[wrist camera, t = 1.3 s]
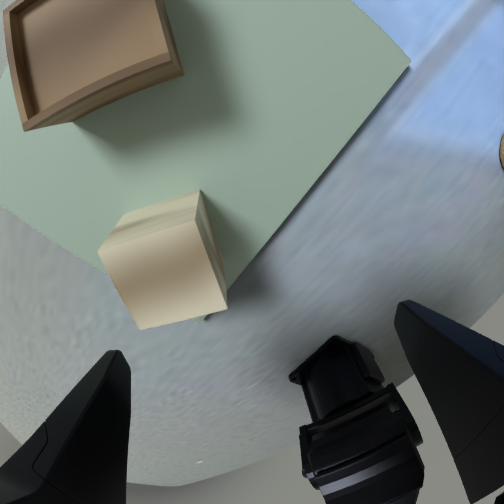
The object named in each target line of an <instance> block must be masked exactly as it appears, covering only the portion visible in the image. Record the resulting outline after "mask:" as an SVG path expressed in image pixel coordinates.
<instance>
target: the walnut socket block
mask: <svg viewBox="0 0 504 504" xmlns="http://www.w3.org/2000/svg"><path fill="white" fill-rule="evenodd" d="M3 19H4V32H5V42H6V50H7V57H8V63H9V70H10V75H11V81H12V86H13V90H14V95H15V99H16V104H17V108H18V112H19V116H20V120H21V123H22V127H23V130H24V132H26V131H30V130H35V129H39V128H44V127H48V126H53V125H58V124H64V123H69V122H73V121H75V120H77V119H79V118H81V117H83V116H85V115H87V114H89V113H91V112H93V111H95V110H97V109H99V108H101V107H103V106H106V105H108V104H110V103H112V102H115V101H117V100H119V99H121V98H124V97H126V96H129V95H131V94H134V93H136V92H139V91H141V90H144V89H146V88H149V87H152V86H154V85H157V84H160V83H163V82H166V81H169V80H171V79H174V78H178V77H181V76H184V72H183V68H182V65H181V61H180V58H179V54H178V51H177V47H176V43H175V40H174V36H173V33H172V29H171V26H170V22H169V18H168V15H167V11H166V7H165V4H164V0H16V1H15V2H14V3H12V4H11V5H10V6H8V7H7V8H6V9H5V10H3Z"/></svg>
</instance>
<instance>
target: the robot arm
mask: <svg viewBox="0 0 504 504" xmlns="http://www.w3.org/2000/svg"><path fill="white" fill-rule="evenodd" d="M394 326H395V329H396V331H397V334H398V336H399V339H400V341H401V344H402V346H403V349H404V351H405V354H406V356H407V359H408V361H409V364H410V366H411V368H412V370H413V372H414V374H415V376H416V378H417V380H418V382H419V384H420V386H421V388H422V390H423V392H424V394H425V396H426V398H427V400H428V402H429V404H430V406H431V408H432V411H433V413H434V415H435V417H436V419H437V421H438V424H439V426H440V428H441V430H442V433H443V435H444V437H445V440H446V442H447V444H448V447H449V449H450V452H451V454H452V456H453V458H454V462H455V464H456V467H457V469H458V471H459V475H460V477H461V480H462V483H463V485H464V488H465V491H466V494H467V497H468V500H469V502H470V504H473V503H475V502H477V501H479V500H480V499H482V498H484V497H485V496H487V495H489V494H490V493H492V492H494V491H495V490H497V489H498V488H500V487H502V486H503V485H504V346H503V345H501V344H499V343H497V342H495V341H492V340H491V339H489V338H487V337H485V336H483V335H481V334H479V333H477V332H475V331H473V330H471V329H469V328H467V327H465V326H463V325H461V324H459V323H457V322H455V321H453V320H451V319H449V318H447V317H445V316H443V315H441V314H439V313H437V312H435V311H433V310H431V309H429V308H427V307H425V306H423V305H420V304H418V303H416V302H414V301H412V300H405V301H401V302H399V304H398V306H397V310H396V315H395V319H394ZM289 380H290V382H293V383H296V384H299V385H302V389H303V392H304V395H305V399H306V402H307V405H308V409H309V412H310V415H311V419H312V422H313V423H311V424H308V425H303V426H301V427H299V429H300V435H299V439H300V448H301V458H302V474H303V476H304V477H305V478H308V479H309V481H310V483H311V484H312V486H313V487H314V488H315V489H316V490H321V493H322V495H323V497H324V499H325V502H326V504H416V501H417V497H418V494H419V490H420V488H422V486H423V480H424V465H423V462H422V460H421V457H420V455H419V452H418V450H417V448H416V447H417V446H419V445H420V444H422V443H423V440H422V436H421V433H420V431H419V429H418V426H417V424H416V422H415V420H414V418H413V416H412V414H411V413H410V411H409V409H408V407H407V406H406V404H405V402H404V401H403V399H402V397H401V396H400V394H399V393H398V391H397V389H396V388H395V386H394V384H393V383H390V384H389V385H387V387H385V388H383V386H382V383H383V382H384V380H385V378H384V376H383V374H382V373H381V371H380V369H379V367H378V365H377V363H376V362H375V360H374V356H373V354H372V353H370V351H369V350H368V349H366V348H364V347H362V346H361V345H359V344H357V343H353V342H352V343H351V342H349V341H347V340H345V339H343V338H341V337H339V336H332V337H331V338H330V339H329V340H328V341H327V342H325V343H324V344H323V345H322V346H321V347H320V348H319V349H318V350H317V351H316V352H315V353H314V354H312V355H311V356H310V357H309V358H308V359H307V360H306V361H305V362H304V363H302V364H301V365H300V366H299V367H298V368H297V369H296V370H294V371H293V372H292V373H291V374H290V375H289ZM395 410H396V411H395ZM130 418H131V370H130V366H129V365H128V363H127V361H126V359H125V357H124V356H123V354H122V352H121V351H120V350H109V351H107V352H106V353H105V354H104V355H103V356H102V357H101V358H100V359H99V361H98V362H97V363H96V364H95V365H94V366H93V367H92V368H91V369H90V370H89V372H88V373H87V374H86V375H85V376H84V377H83V378H82V379H81V380H80V381H79V383H78V384H77V385H76V386H75V387H74V388H73V389H72V390H71V392H70V393H69V394H68V395H67V396H66V397H65V398H64V399H63V401H62V402H61V403H60V404H59V405H58V406H57V407H56V409H55V410H54V411H53V412H52V413H51V414H50V415H49V417H48V418H47V419H46V420H45V421H46V422H43V423H42V425H41V426H40V427H39V428H38V429H37V430H36V432H35V433H34V434H33V435H32V436H31V437H30V438H29V439H28V440H27V441H26V442H25V443H24V444H23V445H22V447H21V448H19V449H18V451H17V452H15V453H14V454H13V455H12V456H11V458H9V459H8V461H6V462H5V463H4V464H3V465H2V466H1V467H0V504H126V479H127V457H128V442H129V430H130ZM494 504H504V491H503V492H502V493H501V494H500V495H499V496H497V497H496V500H495V503H494Z"/></svg>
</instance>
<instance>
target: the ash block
mask: <svg viewBox="0 0 504 504" xmlns="http://www.w3.org/2000/svg"><path fill="white" fill-rule="evenodd" d="M97 253H98V255H99V257H100V259H101V261H102V263H103V265H104V267H105V268H106V270H107V272H108V274H109V276H110V278H111V280H112V282H113V284H114V285H115V287H116V289H117V291H118V293H119V295H120V296H121V298H122V300H123V302H124V303H125V305H126V307H127V309H128V310H129V312H130V314H131V315H132V317H133V319H134V320H135V322H136V324H137V325H138V327H139V329H140V330H143V329H148V328H152V327H156V326H161V325H165V324H169V323H174V322H178V321H182V320H186V319H190V318H194V317H198V316H202V315H206V314H210V313H214V312H218V311H222V310H226V309H228V306H227V295H226V283H225V270H224V260H223V257H222V254H221V252H220V249H219V246H218V243H217V240H216V237H215V234H214V231H213V228H212V225H211V222H210V219H209V216H208V213H207V210H206V207H205V204H204V201H203V197H202V194H201V191H200V189H199V190H196V191H193V192H189V193H186V194H183V195H180V196H177V197H174V198H171V199H167V200H164V201H161V202H158V203H155V204H152V205H150V206H147V207H144V208H141V209H138V210H135V211H132V212H130V213H127V214H124V215H123V216H122V218H121V219H120V220H119V222H118V223H117V224H116V226H115V227H114V229H113V230H112V231H111V233H110V234H109V235H108V237H107V238H106V240H105V241H104V242H103V244H102V245H101V247H100V248H99V250H98V251H97Z"/></svg>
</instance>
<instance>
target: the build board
mask: <svg viewBox="0 0 504 504" xmlns="http://www.w3.org/2000/svg"><path fill="white" fill-rule="evenodd" d="M164 4H165V7H166V11H167V15H168V18H169V22H170V26H171V29H172V33H173V36H174V40H175V43H176V47H177V51H178V54H179V58H180V61H181V65H182V68H183V72H184V76H181V77H178V78H174V79H171V80H169V81H166V82H163V83H160V84H157V85H154V86H152V87H149V88H146V89H144V90H141V91H139V92H136V93H134V94H131V95H129V96H126V97H124V98H121V99H119V100H117V101H115V102H112V103H110V104H108V105H106V106H103V107H101V108H99V109H97V110H95V111H93V112H91V113H89V114H87V115H85V116H83V117H81V118H79V119H77V120H75V121H73V122H69V123H64V124H58V125H53V126H48V127H44V128H39V129H35V130H30V131H26V132H24V130H23V127H22V123H21V120H20V116H19V112H18V108H17V104H16V99H15V95H14V90H13V86H12V81H11V75H10V70H9V63H8V64H7V66H6V68H5V71H4V73H3V75H2V77H1V79H0V205H2V206H3V207H4V208H6V209H7V210H8V211H10V212H11V213H12V214H14V215H15V216H17V217H18V218H19V219H21V220H22V221H24V222H25V223H27V224H28V225H29V226H31V227H32V228H34V229H35V230H37V231H38V232H40V233H41V234H43V235H44V236H46V237H47V238H49V239H50V240H52V241H53V242H55V243H56V244H58V245H59V246H61V247H63V248H64V249H66V250H67V251H69V252H70V253H72V254H74V255H75V256H77V257H78V258H80V259H82V260H83V261H85V262H87V263H88V264H90V265H92V266H93V267H95V268H97V269H98V270H100V271H102V272H103V273H105V274H107V275H109V274H108V272H107V270H106V268H105V267H104V265H103V263H102V261H101V259H100V257H99V255H98V253H97V251H98V250H99V248H100V247H101V245H102V244H103V242H104V241H105V240H106V238H107V237H108V235H109V234H110V233H111V231H112V230H113V229H114V227H115V226H116V224H117V223H118V222H119V220H120V219H121V218H122V216H123V215H124V214H127V213H130V212H132V211H135V210H138V209H141V208H144V207H147V206H150V205H152V204H155V203H158V202H161V201H164V200H167V199H171V198H174V197H177V196H180V195H183V194H186V193H189V192H193V191H196V190H199V189H200V191H201V194H202V197H203V201H204V204H205V207H206V210H207V213H208V216H209V219H210V222H211V225H212V228H213V231H214V234H215V237H216V240H217V243H218V246H219V249H220V252H221V254H222V257H223V260H224V270H225V283H226V291H227V290H228V289H229V288H230V286H231V285H232V284H233V283H234V281H235V280H236V279H237V278H238V277H239V275H240V274H241V273H242V272H243V270H244V269H245V268H246V267H247V265H248V264H249V263H250V262H251V261H252V259H253V258H254V257H255V256H256V254H257V253H258V252H259V251H260V249H261V248H262V247H263V246H264V245H265V243H266V242H267V241H268V240H269V238H270V237H271V236H272V235H273V233H274V232H275V231H276V230H277V228H278V227H279V226H280V225H281V224H282V222H283V221H284V220H285V219H286V217H287V216H288V215H289V214H290V212H291V211H292V210H293V209H294V207H295V206H296V205H297V204H298V202H299V201H300V200H301V199H302V197H303V196H304V195H305V194H306V193H307V191H308V190H309V189H310V188H311V186H312V185H313V184H314V183H315V181H316V180H317V179H318V178H319V176H320V175H321V174H322V173H323V171H324V170H325V169H326V168H327V166H328V165H329V164H330V163H331V161H332V160H333V159H334V158H335V156H336V155H337V154H338V153H339V151H340V150H341V149H342V148H343V146H344V145H345V144H346V143H347V141H348V140H349V139H350V138H351V136H352V135H353V134H354V133H355V131H356V130H357V129H358V128H359V126H360V125H361V124H362V123H363V121H364V120H365V119H366V118H367V116H368V115H369V114H370V113H371V111H372V110H373V109H374V108H375V106H376V105H377V104H378V103H379V101H380V100H381V99H382V98H383V96H384V95H385V94H386V93H387V91H388V90H389V89H390V88H391V86H392V85H393V84H394V83H395V81H396V80H397V79H398V78H399V76H400V75H401V74H402V72H403V71H404V70H405V69H406V67H407V66H408V65H409V64H410V62H411V59H410V58H409V57H408V56H407V55H406V54H405V53H404V51H403V50H402V49H401V48H400V47H399V46H398V45H397V44H396V43H395V42H394V41H393V40H392V39H391V38H390V36H389V35H388V34H387V33H386V32H385V31H384V30H383V29H382V28H381V27H380V26H379V25H377V24H376V23H375V22H374V21H373V20H372V19H371V18H370V17H369V16H368V15H367V14H366V13H365V12H364V11H362V10H361V9H360V8H359V7H358V6H357V5H356V4H354V3H353V2H352V1H351V0H164ZM207 315H208V314H206V315H202V316H198V317H194V318H190V319H191V320H193V321H195V322H198V323H201V322H202V321H203V319H204V318H205V317H206V316H207Z"/></svg>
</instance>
